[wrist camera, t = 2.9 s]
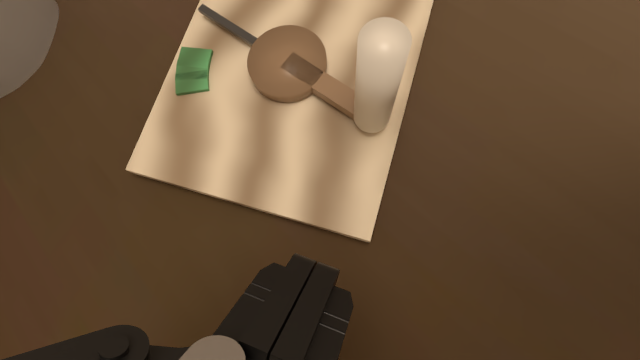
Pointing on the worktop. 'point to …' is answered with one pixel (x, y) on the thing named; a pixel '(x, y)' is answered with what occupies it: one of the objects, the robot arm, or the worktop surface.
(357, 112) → the brown and cream piece
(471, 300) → the worktop surface
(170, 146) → the striped cutting board
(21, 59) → the lumpy-topped squat cylinder
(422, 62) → the worktop surface
